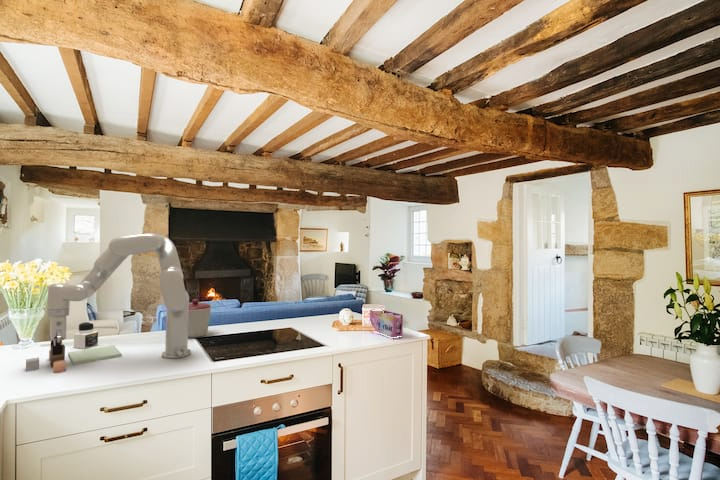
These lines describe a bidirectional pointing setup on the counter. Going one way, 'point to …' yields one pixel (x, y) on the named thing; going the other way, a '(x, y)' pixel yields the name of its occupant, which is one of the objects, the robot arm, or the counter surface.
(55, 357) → the walnut block
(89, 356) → the sage board
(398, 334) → the gum box
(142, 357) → the counter surface
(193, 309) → the canister
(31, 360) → the stone cube
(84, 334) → the medicine bottle
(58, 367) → the terracotta cylinder
